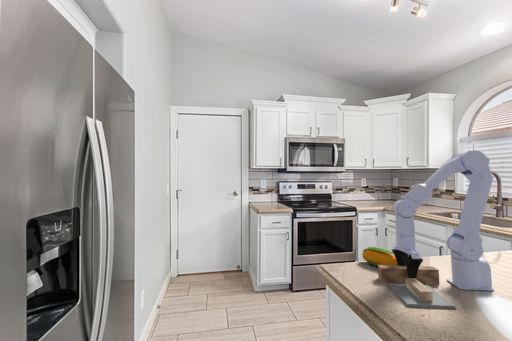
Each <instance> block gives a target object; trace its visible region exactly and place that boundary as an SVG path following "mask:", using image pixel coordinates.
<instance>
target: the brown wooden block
mask: <svg viewBox="0 0 512 341" xmlns="http://www.w3.org/2000/svg"><path fill="white" fill-rule="evenodd" d="M377 273H378V276H377V277H378V280H379V281H380V282H381V283H389V284H406V282H405V278H409V277H408V274H407V268H406V266H399V265H378V266H377ZM416 279H417V280H418V281H419V282H421V283H422V284H423V285H440V272H439V269H438V268H436V267H435V266H429V265H428V266H426V265H424V266H423V265H420V266H419V269H418V273H417V277H416Z"/></svg>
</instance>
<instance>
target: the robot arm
mask: <svg viewBox="0 0 512 341" xmlns="http://www.w3.org/2000/svg"><path fill="white" fill-rule="evenodd" d="M490 160H491V159H490V158H489V157H487V155H485V153H484V152H482V151H480V150H476V149H471V150H468V151H465V152H459V153H455V154H453V155H452V156H451V157H450V158H449V159H447V160H446V161H445V162H444V163H443V164H442V165H441V166H440V167H439V168H438V169H436V171H435V172H434V173H432V175H430V176H429V177H428V178H427V180H426V181H425V182H424V183H417V184H416V185H415V184H413V185H412V186H411V187H410V188H411V189H410V190H409V191H408V192H407V193H406V194H405V195H401V196H400V198H401V199H398V200H396V201H395V202H394V204H393V205H392V208H391V209H392V211H393V213H394V214H395V215H394V216H395V221H394V222H395V223H394V224H395V239H396V240H395V242H394V245H393V246H392V249H391V252H393V254H392V255H394V256H395V258H396V261H397V264H398V265H399V266H406V268H407V274H408V277H409V278H415V279H416V277H417V273H418V269H419V266H421V265H422V264H423V261H424V259H423V258H422V257H420V253H419V251H418V249H417V248H416V230H415V229H416V228H415V216H414V215H416V214H417V209H420V207H421V206H422V205H423V204H425V202H427V201H428V200H429V199H430V198H431V197H433V190H434V189H436V188H437V187H438V186H439V185H440V184H442V183H443V182H444V181H445V180H446V179H448V178H449V177H450V176H451V175H454V174H457V173H460V174H462V175H463V176H464V177H465V178H466V180H468V181H469V184H468V187H467V188H468V189H467V191H466V196H465V198H464V199H465V200H464V202H463V207H462V211H461V213H460V218H459V222H458V225H457V226H456V227H455V228H454V229H452V233H451V235H450V236H449V237H448V238H447V240H446V245H447V248H448V249H449V250H450V251H451V252H450V262H451V276H452V278H445V279H446V281H447V282H449V283H450V284H452V285H454V286H455V287H457V288H458V289H460V290H465V291H466V290H468V291H470V290H471V291H495V288H493V282H492V280H493V279H492V269H491V266H490V264H489V262H488V261H487V260H486V259H484V258H482V257H483V255H484V248H483V237H482V234H481V233H480V229H481V226H482V222H483V218H484V215H485V210H486V207H487V203H488V200H489V199H488V198H489V196H490V192H491V188H492V184H493V180H494V178H493V174H492V171H491V168H490V165H489V163H490Z"/></svg>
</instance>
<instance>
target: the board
mask: <svg viewBox="0 0 512 341" xmlns="http://www.w3.org/2000/svg"><path fill="white" fill-rule="evenodd" d="M423 285H424V286H426V287H427V288H428V289H429V290H431V291H432V293H433V302H427V301H421V300H420V299H418V298H417V297H416V296H415V295H414V294H413V293H412V292H411V291H410V290H409V289H408V288H407V287H406V283H388V287H389V289H391V290H392V291H393V293H394V294H395V295H396V296H397V297H398V298H399V299H400V301H402V303H404V305H405V306H406V307H407V308H422V309H423V308H424V309H425V308H426V309H443V310H444V309H445V310H446V309H447V310H448V309H450V310H456V309H457V308H456V305H455V304H454V303H452V302H451V301H450V300H448V299H447V298H446V297H444V296H443V295H442V294H440V293H439V292H438V291H436V290H435V289H434V288H432V287H431V286H430V285H429V284H423Z"/></svg>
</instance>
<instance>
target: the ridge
mask: <svg viewBox="0 0 512 341" xmlns="http://www.w3.org/2000/svg"><path fill="white" fill-rule="evenodd" d="M405 282H406V283H405V284H406V287H407V288H408V289H409V290H410V291H411V292H412V293H413V294H414V295H415V296H416V297H417V298H418V299H420V300H421V301H427V302H433V293H432V291H431V290H429V289H428V288H427V287H426V286H424V285H425V284H422V283H421V282H419V281H418V280H417V279H415V278H405Z"/></svg>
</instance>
